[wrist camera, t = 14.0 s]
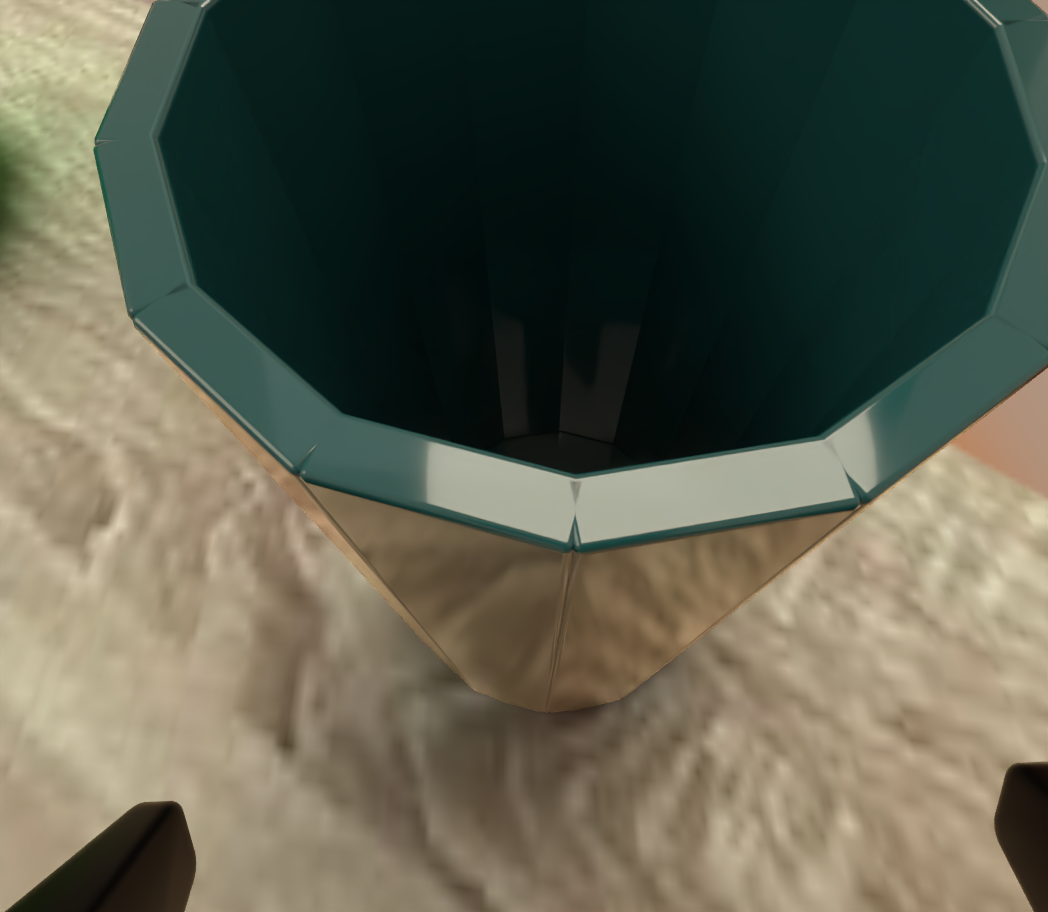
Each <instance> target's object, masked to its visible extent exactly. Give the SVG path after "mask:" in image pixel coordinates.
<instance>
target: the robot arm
mask: <svg viewBox="0 0 1048 912" xmlns="http://www.w3.org/2000/svg"><path fill="white" fill-rule="evenodd" d="M994 826H995V832H996V836H997V839H998V842H999V844H1000V846H1001V848H1002V850H1003V852H1004V854H1005V856H1006V858H1007V860H1008V862H1009V864H1010V866H1011V868H1012V870H1013V872H1014V874H1015V876H1016V878H1017V880H1018V882H1019V884H1020V885H1021V887H1022V889H1023V891H1024V893H1025V895H1026V897H1027V899H1028V901H1029V903H1030V905H1031V907H1032V909H1033V911H1034V912H1048V762H1028V763H1016V764H1013V765H1012V766H1011V767H1009V769H1008V770H1007V772H1006V775H1005V778H1004V782H1003V786H1002V790H1001V794H1000V798H999V801H998V805H997V809H996V813H995V818H994ZM195 871H196V855H195V851H194V847H193V843H192V840H191V836H190V833H189V829H188V826H187V822H186V819H185V815H184V812H183V809H182V807H181V806H180V805H179V804H178V803H177V802H174V801H162V802H144V803H140V804H138V805H136V806H134V807H133V808H131V809H130V810H129V811H127V812H126V813H125V814H124V815H122V816H121V817H120V818H119V819H118V820H116V821H115V822H114V823H113V824H111V825H110V826H109V827H108V828H107V829H105V830H104V831H103V832H102V833H100V834H99V835H98V836H97V837H96V838H94V839H93V840H92V841H91V842H89V843H88V844H87V845H86V846H85V847H83V848H82V849H81V850H80V851H78V852H77V853H76V854H75V855H74V856H72V857H71V858H70V859H69V860H67V861H66V862H65V863H64V864H63V865H61V866H60V867H59V868H58V869H56V870H55V871H54V872H53V873H52V874H50V875H49V876H48V877H47V878H46V879H44V880H43V881H42V882H41V883H39V884H38V885H37V886H36V887H35V888H33V889H32V890H31V891H30V892H28V893H27V894H26V895H25V896H24V897H22V898H21V899H20V900H19V901H17V902H16V903H15V904H14V905H13V906H11V907H10V908H9V909H8V910H6V911H5V912H184V911H185V908H186V905H187V901H188V898H189V895H190V891H191V888H192V885H193V881H194V877H195Z"/></svg>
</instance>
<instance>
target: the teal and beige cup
mask: <svg viewBox="0 0 1048 912" xmlns="http://www.w3.org/2000/svg"><path fill="white" fill-rule="evenodd" d="M95 145H96V146H95V147H94V149H93V150H94V155H95V160H96V165H97V170H98V174H99V179H100V184H101V189H102V193H103V198H104V203H105V208H106V212H107V217H108V222H109V227H110V231H111V236H112V241H113V246H114V251H115V255H116V260H117V265H118V270H119V274H120V279H121V284H122V289H123V293H124V298H125V303H126V308H127V313H128V316H129V317H130V318H131V319H132V320H133V323H134V326H135V328H136V329H137V330H138V331H139V333H140V334H141V335H142V336H143V337H144V338H145V339H146V340H147V341H148V342H149V343H150V344H151V346H152V347H153V348H154V349H155V350H156V351H157V352H158V353H159V354H160V355H161V356H162V358H163V359H164V360H165V361H166V362H167V363H168V364H169V365H170V366H171V367H172V368H173V369H174V371H175V372H176V373H177V374H178V375H179V376H180V377H181V378H182V379H183V380H184V381H185V383H186V384H187V385H188V386H189V387H190V388H191V389H192V390H193V391H194V392H195V393H196V395H197V396H198V397H199V398H200V399H201V400H202V401H203V402H204V403H205V404H206V405H207V406H208V408H209V409H210V410H211V411H212V412H213V413H214V414H215V415H216V416H217V417H218V418H219V420H220V421H221V422H222V423H223V424H224V425H225V426H226V427H227V428H228V429H229V430H230V432H231V433H232V434H233V435H234V436H235V437H236V438H237V439H238V440H239V441H240V442H241V443H242V445H243V446H244V447H245V448H246V449H247V450H248V451H249V452H250V453H251V454H252V455H253V457H254V458H255V459H256V460H257V461H258V462H259V463H260V464H261V465H262V466H263V467H264V468H265V470H266V471H267V472H268V473H269V474H270V475H271V476H272V477H273V478H274V479H275V480H276V482H277V483H278V484H279V485H280V486H281V487H282V488H283V489H284V490H285V491H286V492H287V494H288V495H289V496H290V497H291V498H292V499H293V500H294V501H295V502H296V503H297V504H298V505H299V507H300V508H301V509H302V510H303V511H304V512H305V513H306V514H307V515H308V516H309V517H310V519H311V520H312V521H313V522H314V523H315V524H316V525H317V526H318V527H319V528H320V529H321V531H322V532H323V533H324V534H325V535H326V536H327V537H328V538H329V539H330V540H331V541H332V542H333V544H334V545H335V546H336V547H337V548H338V549H339V550H340V551H341V552H342V553H343V554H344V556H345V557H346V558H347V559H348V560H349V561H350V562H351V563H352V564H353V565H354V566H355V567H356V569H357V570H358V571H359V572H360V573H361V574H362V575H363V576H364V577H365V578H366V579H367V581H368V582H369V583H370V584H371V585H372V586H373V587H374V588H375V589H376V590H377V591H378V593H379V594H380V595H381V596H382V597H383V598H384V599H385V600H386V601H387V602H388V603H389V604H390V606H391V607H392V608H393V609H394V610H395V611H396V612H397V613H398V614H399V615H400V616H401V618H402V619H403V620H404V621H405V622H406V623H407V624H408V625H409V626H410V627H411V628H412V630H413V631H414V632H415V633H416V634H417V635H418V636H419V637H420V638H421V639H422V640H423V641H424V643H425V644H426V645H428V646H429V647H430V648H431V649H432V650H433V651H434V652H435V653H436V654H437V655H438V656H439V657H440V658H441V659H442V660H443V661H444V662H445V663H446V664H447V665H448V666H449V667H450V668H451V669H452V670H453V671H454V672H455V673H456V674H457V675H458V676H459V677H460V678H461V679H462V680H463V681H464V682H466V683H467V684H468V685H469V686H470V687H471V688H472V689H473V690H475V691H476V692H478V693H482V694H485V695H488V696H491V697H493V698H495V699H498V700H500V701H503V702H506V703H509V704H511V705H514V706H519V707H523V708H528V709H533V710H536V711H540V712H543V713H546V712H547V713H552V712H558V711H568V710H578V709H583V708H588V707H593V706H597V705H600V704H603V703H609V702H614V701H618V700H619V699H623V698H624V697H625V696H626V695H628V694H629V693H630V692H632V691H633V690H634V689H635V688H637V687H638V686H639V685H641V684H642V683H643V682H645V681H646V680H647V679H648V678H650V677H651V676H652V675H654V674H655V673H656V672H658V671H659V670H660V669H661V668H663V667H664V666H665V665H667V664H668V663H669V662H670V661H672V660H673V659H674V658H676V657H677V656H678V655H679V654H681V653H682V652H683V651H685V650H686V649H687V648H688V647H690V646H691V645H692V644H694V643H695V642H696V641H697V640H699V639H700V638H701V637H703V636H704V635H705V634H706V633H708V632H709V631H710V630H712V629H713V628H714V627H715V626H717V625H718V624H719V623H721V622H722V621H723V620H724V619H726V618H727V617H728V616H730V615H731V614H732V613H733V612H735V611H736V610H737V609H739V608H740V607H741V606H742V605H744V604H745V603H746V602H747V601H749V600H750V599H751V598H753V597H754V596H755V595H756V594H758V593H759V592H760V591H762V590H763V589H764V588H765V587H767V586H768V585H769V584H771V583H772V582H773V581H774V580H776V579H777V578H778V577H780V576H781V575H782V574H783V573H785V572H786V571H787V570H789V569H790V568H791V567H792V566H794V565H795V564H796V563H798V562H799V561H800V560H801V559H803V558H804V557H805V556H807V555H808V554H809V553H810V552H812V551H813V550H814V549H815V548H817V547H818V546H819V545H821V544H822V543H823V542H824V541H826V540H827V539H828V538H830V537H831V536H832V535H833V534H835V533H836V532H837V531H839V530H840V529H841V528H842V527H844V526H845V525H846V524H848V523H849V522H850V521H851V520H853V519H854V518H855V517H857V516H858V515H859V514H860V513H862V512H863V511H864V510H866V509H867V508H868V507H869V506H871V505H872V504H873V503H875V502H876V501H877V500H878V499H880V498H881V497H882V496H884V495H885V494H886V493H887V492H889V491H890V490H891V489H892V488H894V487H895V486H896V485H898V484H899V483H900V482H901V481H903V480H904V479H905V478H907V477H908V476H909V475H910V474H912V473H913V472H914V471H916V470H917V469H918V468H919V467H921V466H922V465H923V464H925V463H926V462H927V461H928V460H930V459H931V458H932V457H934V456H935V455H936V454H937V453H939V452H940V451H941V450H943V449H944V448H945V447H946V446H948V445H949V444H950V443H952V442H953V441H954V440H955V439H957V438H958V437H959V436H960V435H962V434H963V433H964V432H966V431H967V430H968V429H969V428H971V427H972V426H973V425H975V424H976V423H977V422H978V421H980V420H981V419H982V418H984V417H985V416H986V415H987V414H989V413H990V412H991V411H992V410H994V409H995V408H996V407H998V406H999V405H1000V404H1002V403H1003V402H1004V401H1005V400H1007V399H1008V398H1009V397H1011V396H1012V395H1013V394H1014V393H1016V392H1017V391H1018V390H1019V389H1021V388H1022V387H1023V386H1025V385H1026V384H1027V383H1029V382H1030V381H1031V380H1032V379H1034V378H1035V377H1036V376H1037V375H1039V374H1040V373H1041V372H1043V371H1044V370H1045V369H1046V368H1048V14H1046V13H1045V12H1044V11H1043V10H1042V9H1041V8H1040V7H1039V6H1037V5H1036V4H1035V3H1034V2H1033V1H1032V0H157V1H155V2H154V3H152V6H151V8H150V10H149V13H148V15H147V17H146V20H145V22H144V24H143V27H142V29H141V31H140V34H139V36H138V38H137V41H136V43H135V45H134V48H133V50H132V52H131V55H130V57H129V59H128V62H127V64H126V67H125V69H124V71H123V74H122V76H121V78H120V81H119V83H118V85H117V88H116V90H115V92H114V95H113V97H112V99H111V102H110V104H109V106H108V109H107V111H106V113H105V116H104V118H103V120H102V123H101V125H100V127H99V130H98V132H97V135H96V137H95Z"/></svg>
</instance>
